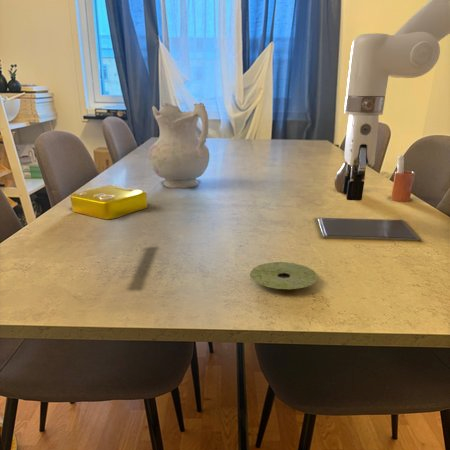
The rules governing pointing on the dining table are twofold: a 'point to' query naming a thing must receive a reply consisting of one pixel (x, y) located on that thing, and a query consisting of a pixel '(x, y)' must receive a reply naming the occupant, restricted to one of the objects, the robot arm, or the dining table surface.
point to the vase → (340, 178)
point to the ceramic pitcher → (180, 146)
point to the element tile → (109, 201)
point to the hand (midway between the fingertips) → (351, 196)
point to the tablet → (366, 229)
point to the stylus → (401, 164)
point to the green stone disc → (283, 275)
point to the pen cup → (402, 186)
